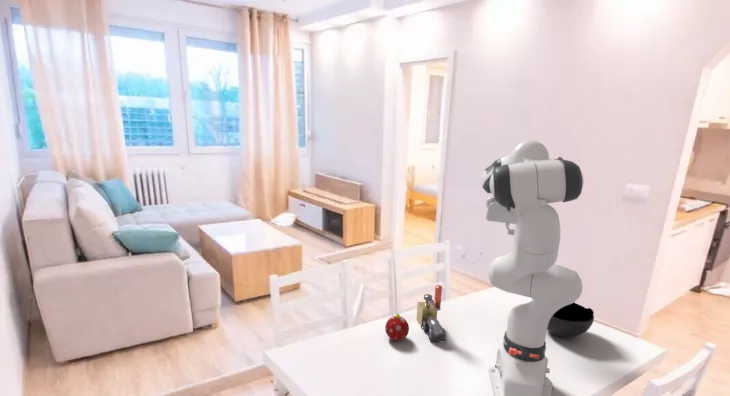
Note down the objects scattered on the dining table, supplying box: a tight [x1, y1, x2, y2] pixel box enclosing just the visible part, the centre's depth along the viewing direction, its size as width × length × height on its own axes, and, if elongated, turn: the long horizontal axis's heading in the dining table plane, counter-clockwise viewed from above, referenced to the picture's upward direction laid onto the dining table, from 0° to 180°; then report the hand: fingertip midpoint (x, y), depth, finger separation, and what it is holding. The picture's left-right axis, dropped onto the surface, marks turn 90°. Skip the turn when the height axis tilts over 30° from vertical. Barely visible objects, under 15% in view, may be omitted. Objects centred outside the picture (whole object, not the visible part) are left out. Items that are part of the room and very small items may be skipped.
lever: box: [423, 284, 443, 312], centre depth 144 cm, size 11×3×10 cm, turn 15°
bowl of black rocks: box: [547, 302, 595, 338], centre depth 146 cm, size 20×20×19 cm
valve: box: [416, 301, 447, 343], centre depth 144 cm, size 16×6×10 cm, turn 11°
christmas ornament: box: [384, 313, 410, 342], centre depth 138 cm, size 9×9×10 cm
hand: (511, 234), depth 148 cm, fingers closed
